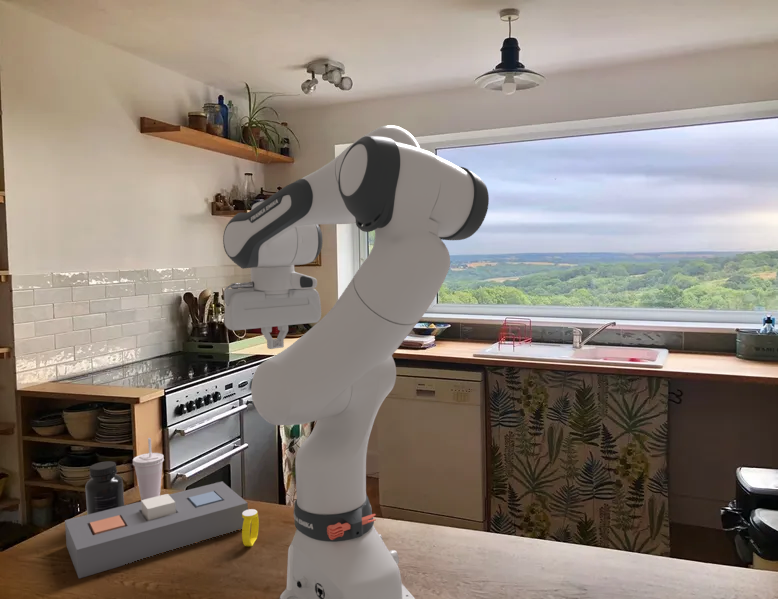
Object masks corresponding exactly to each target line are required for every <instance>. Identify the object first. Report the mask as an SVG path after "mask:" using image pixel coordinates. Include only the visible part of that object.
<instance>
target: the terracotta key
mask: <svg viewBox="0 0 778 599" xmlns="http://www.w3.org/2000/svg"><path fill="white" fill-rule="evenodd" d="M122 527H125V524H124V522H123V521H122V519H121V517H120V516H119V515H118V516H114V517H110V518H106V519H102V520H99V521H95V522H91V523H90V531H91V533H92V535H96V534H100V533H103V532H107V531H111V530H115V529H118V528H122Z"/></svg>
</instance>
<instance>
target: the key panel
mask: <svg viewBox="0 0 778 599" xmlns="http://www.w3.org/2000/svg"><path fill="white" fill-rule="evenodd" d="M212 491H214V492H215V493H216V494H217V495H218V496H219V497H220V498H221V499H222V501H220V502H216V503H212V504H208V505H205V506H201V507H197V508H195V507H194V506H193V505H192V504H191V503H190V502H189V497H193V496H197V495H201V494H205V493H209V492H212ZM168 494H169V493H168ZM169 496H170V497H171V498H172V499H173V500H174V501H175V506H176V513H175V514H171V515H167V516H163V517H160V518H156V519H152V520H148V521H146V519H145V518H144V517H143V515H142V508H141V501H137V502H133V503H129V504H124V506H121V507H117V508H113V509H109V510H105V511H101V512H96V513H92V514H88V515H87V514H85V515H81V516H77V517H73V518H68V519H66V520H64V525H65V540H66V542H65V543H66V548H67V549H66V550H67V551H68V554H69V556H70V560H71V562H72V564H73V567H74V570H75V572H76V575H77V578H78V579H83V578H86V577H89V576H92V575H95V574H99V573H102V572H104V571H108V570H112V569H116V568H118V567H122V566H126V565H128V563H129V564H133V563H135V562H134V561H136V562H138V561H137V560H139V561H141V560H140V559H142V560H144V559H143V558H146V557H149V558H151V557H150V556H152V557H154V556H153V555H156V554H159V553H162V552H166V551H169V550H172V551H174V550H173V549H176V548H179V547H182V548H184V547H183V546H186V545H189V546H191V545H190V544H192V545H194V544H193V543H195V542H199V541H201V540H205V539H209V538H212V537H216V536H219V535H222V536H224V535H223V534H226V533H229V534H231V533H230V532H232V533H234V532H233V531H235V532H237V531H236V530H238V529H242V527H243V521H244V518H243V517H242V513H243V512H244V511H245V510H248V509H249V505H248V504H249V503H248V501H246V500H245V499H244V498H243V497H241V495H239V494H238V493H237V492H235V491H234V490H233V489H232V488H231V487H230V486H228V485H227V484H226V483H225V482H224V481H217V482H215V483H211V484H206V485H202V486H198V487H195V488H190V489H187V490H186V489H185V490H182V491H179V492H174V493H170V494H169ZM118 515H119V516H120V517H121V519H122V521H123V522H124V524H125V527H122V528H118V529H115V530H111V531H107V532H103V533H100V534H96V535H92V533H91V531H90V523H91V522H95V521H99V520H102V519H106V518H110V517H114V516H118ZM226 535H227V534H226ZM219 537H220V536H219ZM216 538H217V537H216ZM212 539H213V538H212ZM209 540H210V539H209ZM199 543H200V542H199ZM186 547H187V546H186ZM179 549H180V548H179ZM176 550H177V549H176ZM169 552H170V551H169ZM166 553H167V552H166ZM162 554H163V553H162ZM159 555H160V554H159ZM156 556H157V555H156ZM146 559H147V558H146ZM132 562H133V563H132ZM125 564H126V565H125Z"/></svg>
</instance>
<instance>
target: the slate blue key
mask: <svg viewBox="0 0 778 599" xmlns="http://www.w3.org/2000/svg"><path fill="white" fill-rule="evenodd" d="M220 501H222V499H221V498H220V497H219V496H218V495H217V494H216V493H215V492H214V491H212V492H209V493H205V494H201V495H197V496H193V497H189V502H190V503H191V504H192V505H193V506H194V507H195V508H197V507H201V506H205V505H208V504H212V503H216V502H220Z"/></svg>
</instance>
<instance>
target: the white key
mask: <svg viewBox="0 0 778 599" xmlns="http://www.w3.org/2000/svg"><path fill="white" fill-rule="evenodd" d="M140 502H141V508H142V515H143V517H144V518H145V519H146V521H148V520H152V519H156V518H160V517H163V516H167V515H171V514H175V513H176V506H175V501H174V500H173V499H172V498H171V497H170V496H169V493H165V494H160V496H157V497H153V498H148V499H144V500H141V499H140Z"/></svg>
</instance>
